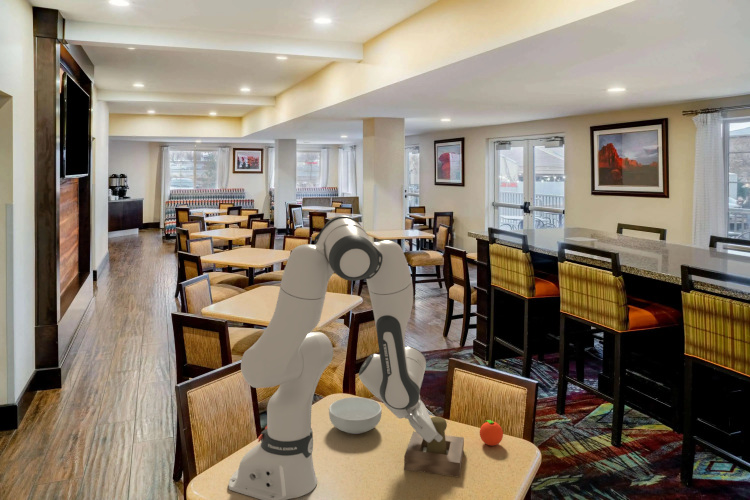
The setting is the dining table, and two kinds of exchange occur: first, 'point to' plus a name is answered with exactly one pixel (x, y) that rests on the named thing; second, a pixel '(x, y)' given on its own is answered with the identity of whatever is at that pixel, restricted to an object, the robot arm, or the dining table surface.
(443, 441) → the olive pepper mill
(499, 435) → the clementine
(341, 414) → the cereal bowl
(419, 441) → the socket block
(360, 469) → the dining table surface
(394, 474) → the dining table surface
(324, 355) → the robot arm
